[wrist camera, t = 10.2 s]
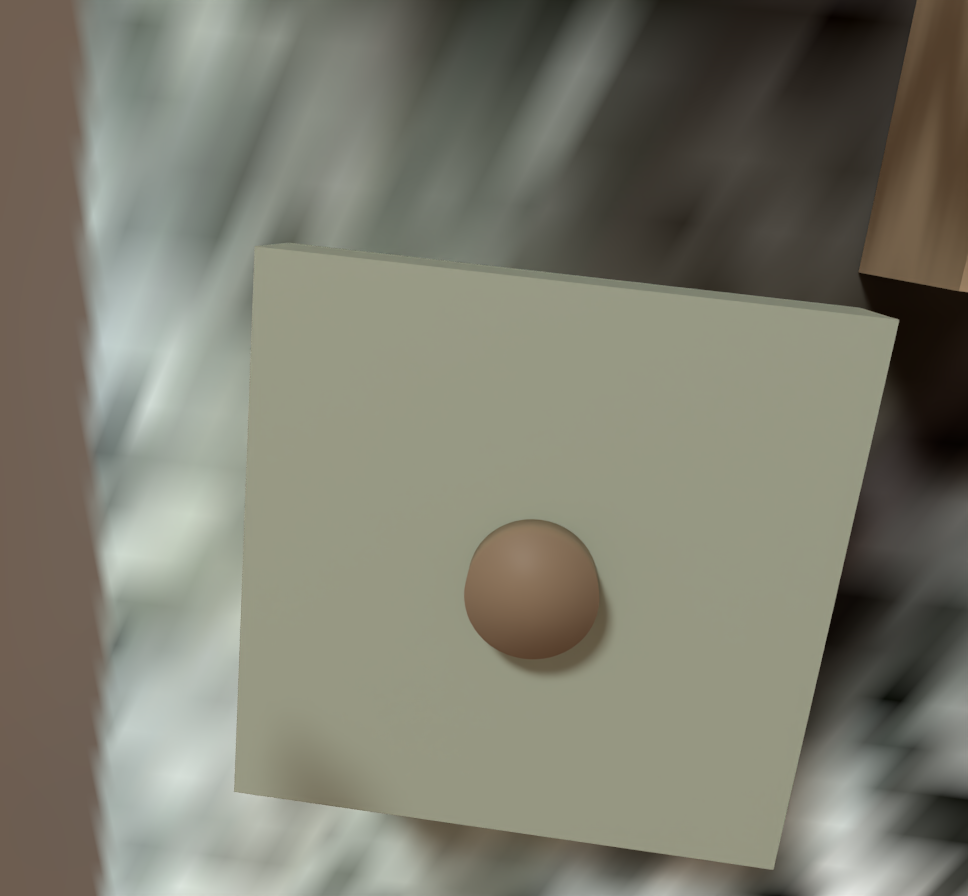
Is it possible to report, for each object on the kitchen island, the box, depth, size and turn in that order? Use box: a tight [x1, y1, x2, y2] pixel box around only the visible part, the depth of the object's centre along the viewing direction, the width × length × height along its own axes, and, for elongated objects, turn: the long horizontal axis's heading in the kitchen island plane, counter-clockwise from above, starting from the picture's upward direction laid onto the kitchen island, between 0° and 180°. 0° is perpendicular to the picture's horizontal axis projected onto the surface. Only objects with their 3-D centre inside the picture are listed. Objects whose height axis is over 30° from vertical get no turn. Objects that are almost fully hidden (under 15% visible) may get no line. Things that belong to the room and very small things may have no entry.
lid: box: [234, 243, 899, 870], centre depth 17 cm, size 11×11×3 cm
